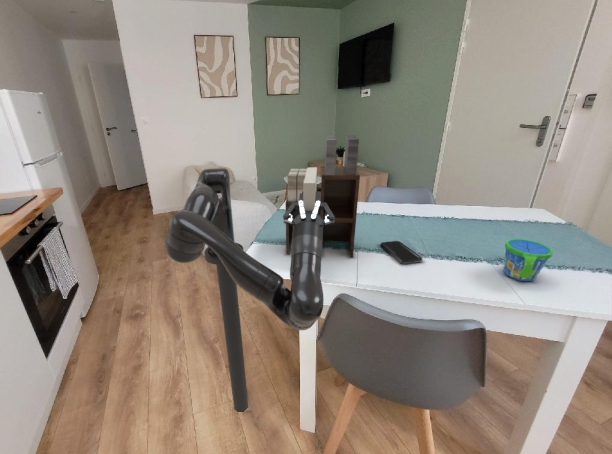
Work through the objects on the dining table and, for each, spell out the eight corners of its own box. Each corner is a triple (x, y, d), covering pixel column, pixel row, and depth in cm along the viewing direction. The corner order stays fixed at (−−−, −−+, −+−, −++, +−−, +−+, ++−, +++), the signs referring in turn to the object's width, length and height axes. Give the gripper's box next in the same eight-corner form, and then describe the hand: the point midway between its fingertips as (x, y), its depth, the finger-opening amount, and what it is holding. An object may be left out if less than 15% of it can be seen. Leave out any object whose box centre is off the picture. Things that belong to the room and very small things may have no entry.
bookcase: (352, 257, 104) (363, 139, 88) (286, 254, 108) (284, 141, 92) (349, 241, 116) (358, 134, 101) (290, 238, 121) (289, 136, 105)
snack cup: (541, 294, 81) (554, 262, 77) (494, 281, 87) (504, 251, 83) (541, 270, 91) (552, 241, 87) (499, 260, 98) (508, 233, 94)
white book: (314, 216, 77) (315, 183, 73) (303, 216, 77) (303, 183, 74) (316, 194, 95) (317, 167, 91) (307, 194, 95) (307, 167, 92)
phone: (398, 240, 112) (423, 259, 98) (398, 243, 113) (423, 261, 99) (379, 242, 111) (402, 261, 98) (379, 245, 112) (401, 264, 98)
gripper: (279, 251, 75) (286, 201, 85) (335, 254, 72) (335, 202, 82) (277, 234, 69) (284, 183, 79) (337, 236, 66) (336, 183, 77)
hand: (310, 193), depth 81 cm, fingers closed on white book, 3 cm apart
